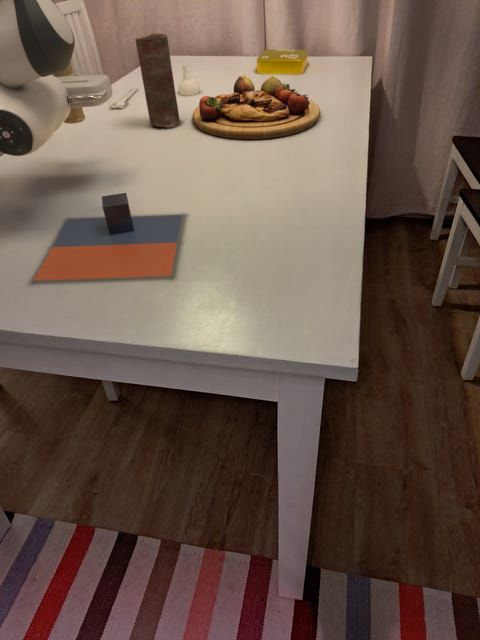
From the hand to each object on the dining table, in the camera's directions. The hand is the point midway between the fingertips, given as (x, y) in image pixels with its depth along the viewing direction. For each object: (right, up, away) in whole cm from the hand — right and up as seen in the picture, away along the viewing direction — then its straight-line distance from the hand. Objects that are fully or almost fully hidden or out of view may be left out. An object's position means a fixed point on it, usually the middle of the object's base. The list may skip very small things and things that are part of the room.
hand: (65, 80), depth 89 cm
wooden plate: (+38, +5, +29) cm, 48 cm away
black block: (+14, -30, -11) cm, 35 cm away
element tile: (+48, +38, +66) cm, 90 cm away
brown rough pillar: (+15, +3, +28) cm, 32 cm away
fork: (0, +18, +46) cm, 50 cm away
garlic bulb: (+19, +21, +49) cm, 56 cm away
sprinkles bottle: (0, -6, +4) cm, 7 cm away
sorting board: (+14, -34, -15) cm, 40 cm away
